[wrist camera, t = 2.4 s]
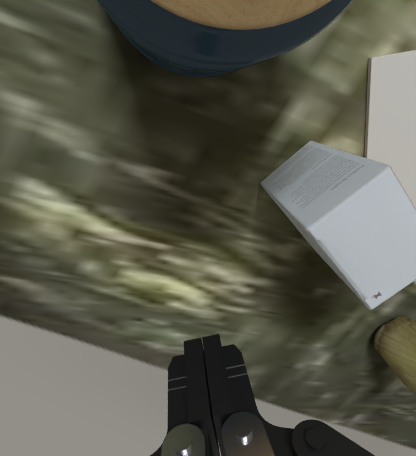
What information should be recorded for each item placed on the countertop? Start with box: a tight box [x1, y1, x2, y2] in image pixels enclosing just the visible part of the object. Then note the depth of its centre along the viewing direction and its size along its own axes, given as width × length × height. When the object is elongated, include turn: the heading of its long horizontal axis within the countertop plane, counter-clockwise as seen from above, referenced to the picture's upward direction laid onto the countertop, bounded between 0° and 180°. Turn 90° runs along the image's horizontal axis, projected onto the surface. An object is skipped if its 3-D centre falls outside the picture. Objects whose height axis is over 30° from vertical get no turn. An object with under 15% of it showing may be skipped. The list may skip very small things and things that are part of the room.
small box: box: [260, 141, 416, 310], centre depth 23 cm, size 8×6×10 cm
